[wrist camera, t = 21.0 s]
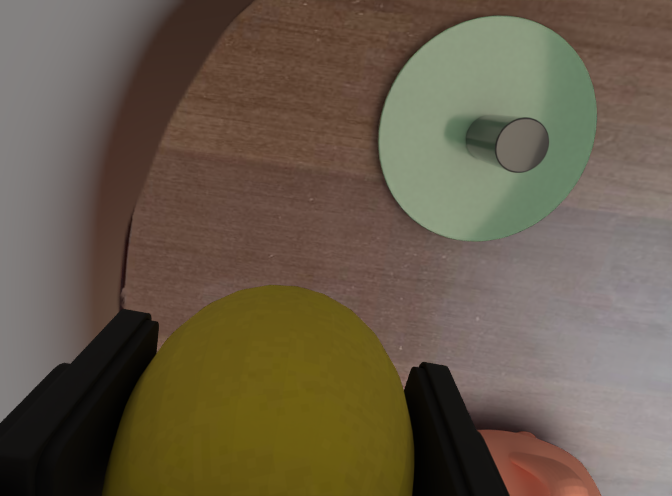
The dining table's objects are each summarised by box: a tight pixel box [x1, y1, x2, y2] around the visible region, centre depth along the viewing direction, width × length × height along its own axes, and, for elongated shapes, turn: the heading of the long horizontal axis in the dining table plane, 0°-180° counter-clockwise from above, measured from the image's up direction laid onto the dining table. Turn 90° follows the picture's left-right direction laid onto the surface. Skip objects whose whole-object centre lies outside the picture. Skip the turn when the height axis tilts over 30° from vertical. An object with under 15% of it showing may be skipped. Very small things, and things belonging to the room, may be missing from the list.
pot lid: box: [377, 16, 597, 241], centre depth 25 cm, size 14×14×6 cm
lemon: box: [102, 285, 414, 496], centre depth 9 cm, size 6×6×8 cm
